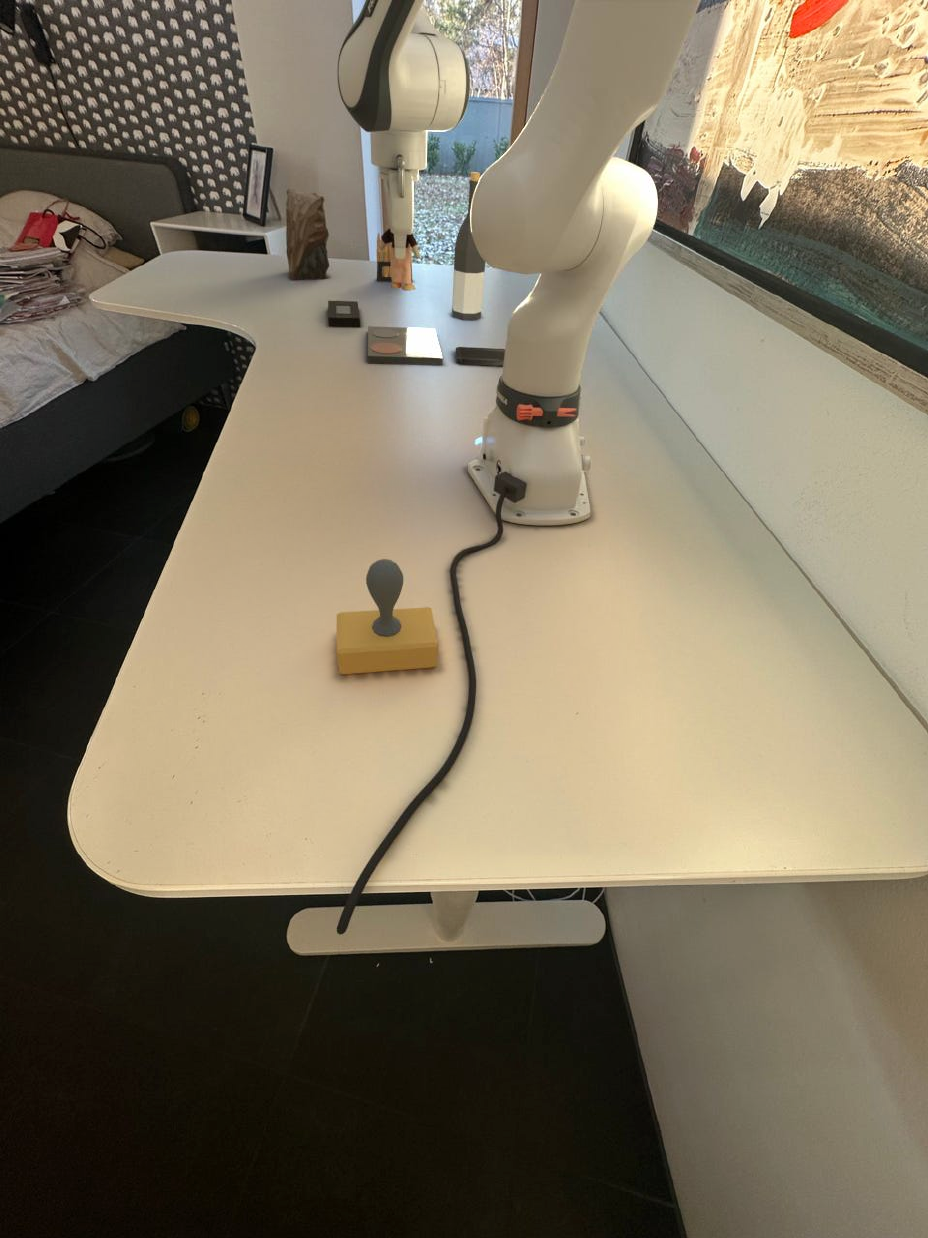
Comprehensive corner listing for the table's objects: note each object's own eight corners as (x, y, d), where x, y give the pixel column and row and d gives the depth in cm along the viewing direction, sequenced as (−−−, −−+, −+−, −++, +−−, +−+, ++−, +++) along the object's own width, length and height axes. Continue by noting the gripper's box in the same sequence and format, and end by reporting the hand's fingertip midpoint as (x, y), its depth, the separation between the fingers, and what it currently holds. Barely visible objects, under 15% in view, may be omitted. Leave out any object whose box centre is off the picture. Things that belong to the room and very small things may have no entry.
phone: (455, 346, 125) (519, 349, 126) (455, 351, 126) (519, 354, 127) (457, 358, 119) (525, 361, 121) (457, 364, 120) (524, 367, 121)
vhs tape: (329, 326, 132) (328, 317, 131) (328, 309, 143) (328, 300, 141) (360, 327, 134) (359, 318, 132) (358, 309, 144) (357, 301, 142)
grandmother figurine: (422, 287, 101) (424, 202, 92) (417, 292, 98) (419, 205, 90) (382, 282, 102) (380, 196, 93) (376, 287, 99) (374, 199, 90)
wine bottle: (447, 317, 144) (454, 171, 124) (455, 309, 150) (462, 169, 129) (477, 321, 143) (488, 175, 123) (484, 313, 149) (495, 172, 128)
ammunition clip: (377, 281, 166) (375, 233, 158) (376, 279, 167) (375, 232, 159) (412, 282, 168) (412, 235, 160) (411, 280, 169) (411, 233, 161)
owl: (289, 269, 169) (278, 187, 155) (330, 270, 171) (324, 189, 157) (289, 279, 160) (277, 194, 146) (333, 280, 163) (326, 196, 149)
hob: (442, 365, 119) (442, 357, 118) (368, 363, 117) (367, 355, 116) (434, 335, 133) (434, 327, 132) (368, 332, 131) (367, 325, 130)
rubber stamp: (430, 629, 61) (434, 541, 52) (437, 669, 57) (442, 580, 48) (339, 635, 59) (328, 545, 51) (339, 676, 55) (327, 586, 47)
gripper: (423, 161, 80) (421, 270, 90) (414, 147, 94) (413, 243, 104) (380, 158, 79) (382, 268, 89) (377, 144, 93) (380, 240, 103)
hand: (399, 254), depth 96 cm, fingers closed on grandmother figurine, 3 cm apart
